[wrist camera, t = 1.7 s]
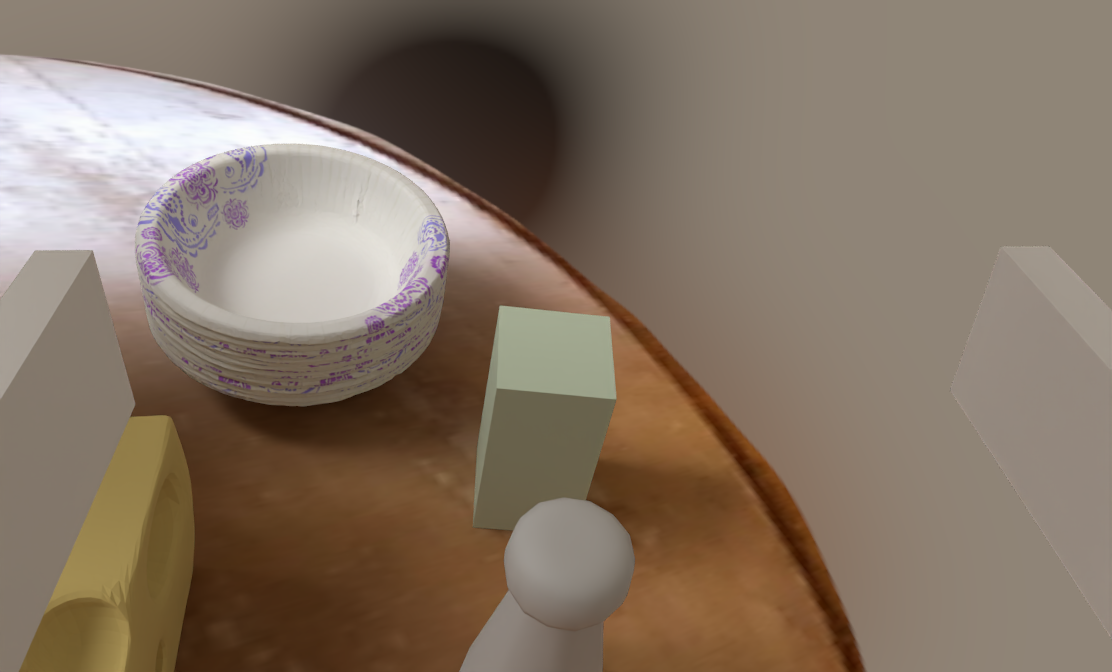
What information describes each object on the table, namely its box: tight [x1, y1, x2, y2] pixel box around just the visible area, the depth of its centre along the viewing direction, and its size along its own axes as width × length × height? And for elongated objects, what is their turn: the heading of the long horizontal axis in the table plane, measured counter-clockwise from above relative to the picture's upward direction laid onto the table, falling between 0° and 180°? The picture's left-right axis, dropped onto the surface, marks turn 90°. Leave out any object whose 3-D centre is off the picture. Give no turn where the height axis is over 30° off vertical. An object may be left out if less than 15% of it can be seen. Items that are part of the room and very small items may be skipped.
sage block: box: [473, 305, 616, 530], centre depth 45 cm, size 5×5×10 cm
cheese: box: [19, 415, 195, 672], centre depth 35 cm, size 10×11×10 cm
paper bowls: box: [135, 144, 450, 407], centre depth 51 cm, size 15×15×8 cm
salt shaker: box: [459, 497, 635, 672], centre depth 36 cm, size 6×6×13 cm
